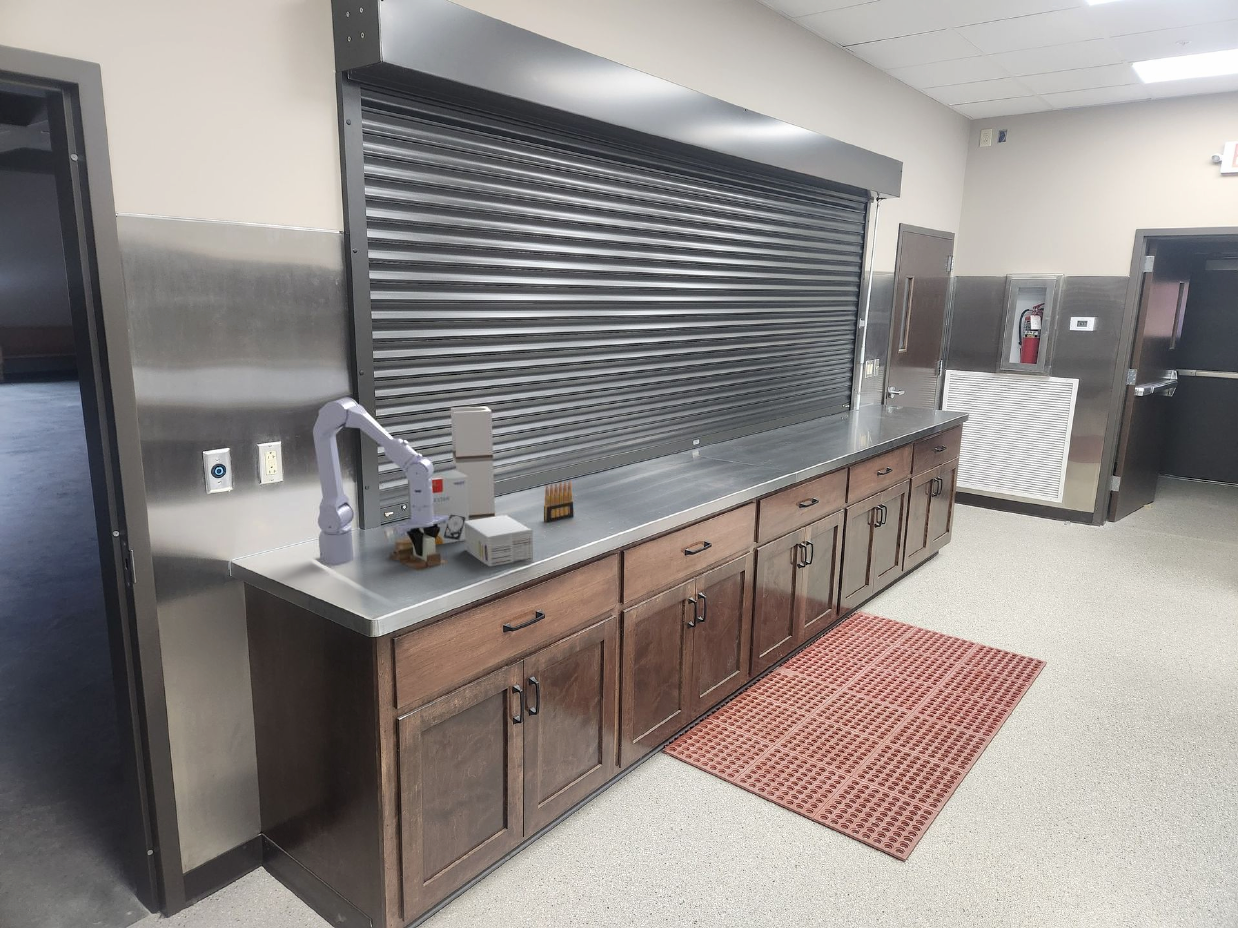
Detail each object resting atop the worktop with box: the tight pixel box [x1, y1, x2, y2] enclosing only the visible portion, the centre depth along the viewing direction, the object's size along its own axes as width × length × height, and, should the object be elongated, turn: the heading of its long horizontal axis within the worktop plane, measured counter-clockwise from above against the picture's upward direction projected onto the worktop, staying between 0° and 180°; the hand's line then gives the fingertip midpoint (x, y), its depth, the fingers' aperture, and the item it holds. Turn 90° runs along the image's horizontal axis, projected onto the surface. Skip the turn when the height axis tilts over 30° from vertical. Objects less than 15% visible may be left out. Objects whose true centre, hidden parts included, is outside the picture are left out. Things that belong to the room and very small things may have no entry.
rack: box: [389, 547, 449, 571], centre depth 213 cm, size 15×9×4 cm, turn 43°
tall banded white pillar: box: [450, 406, 496, 520], centre depth 255 cm, size 11×11×35 cm
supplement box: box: [464, 514, 534, 567], centre depth 218 cm, size 17×13×9 cm
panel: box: [413, 534, 437, 562], centre depth 212 cm, size 8×2×7 cm, turn 43°
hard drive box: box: [407, 471, 469, 546], centre depth 229 cm, size 16×8×20 cm, turn 122°
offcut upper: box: [395, 537, 413, 550], centre depth 216 cm, size 3×6×2 cm, turn 137°
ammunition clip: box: [543, 480, 575, 523], centre depth 255 cm, size 11×2×12 cm, turn 131°
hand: (424, 554), depth 212 cm, fingers closed on panel, 2 cm apart
